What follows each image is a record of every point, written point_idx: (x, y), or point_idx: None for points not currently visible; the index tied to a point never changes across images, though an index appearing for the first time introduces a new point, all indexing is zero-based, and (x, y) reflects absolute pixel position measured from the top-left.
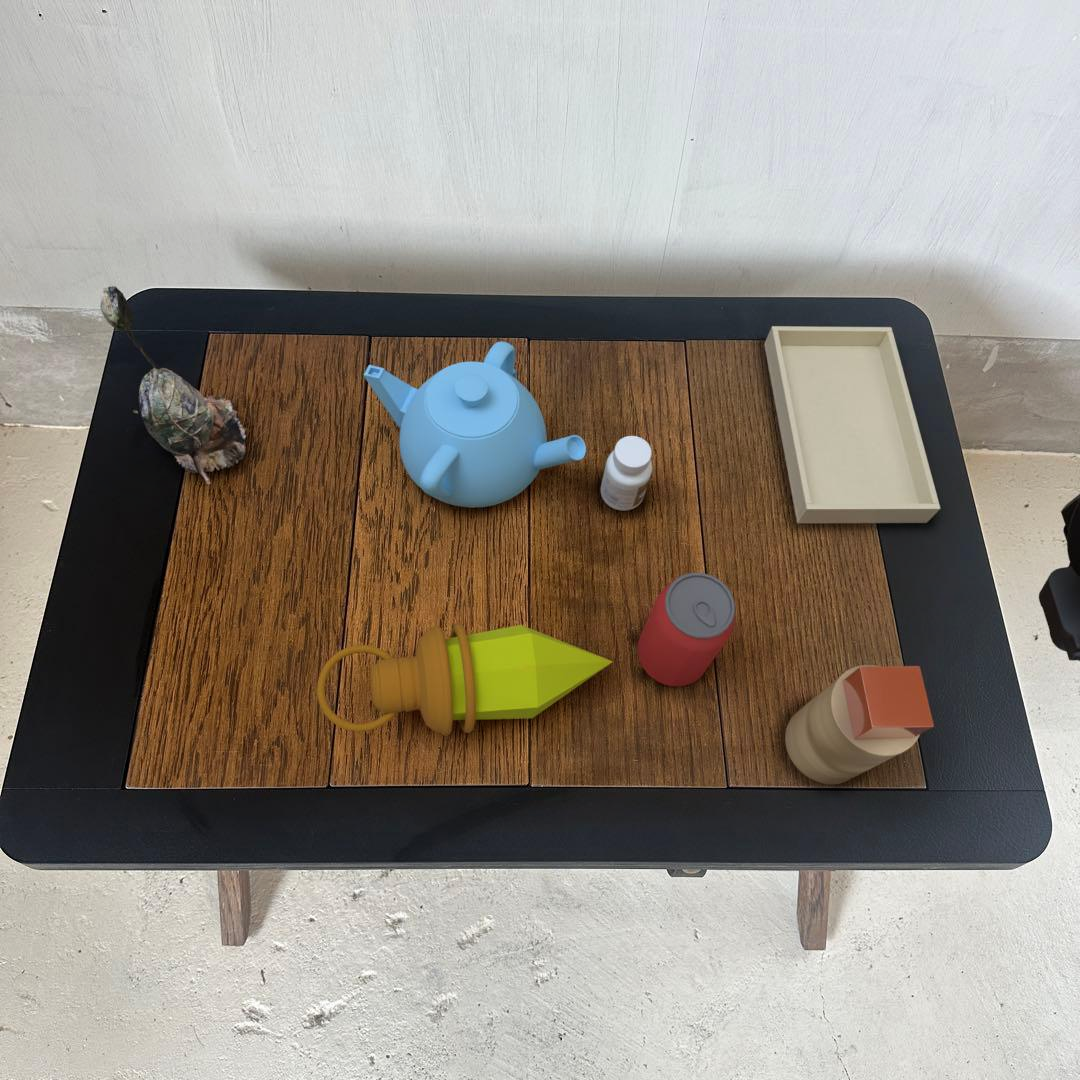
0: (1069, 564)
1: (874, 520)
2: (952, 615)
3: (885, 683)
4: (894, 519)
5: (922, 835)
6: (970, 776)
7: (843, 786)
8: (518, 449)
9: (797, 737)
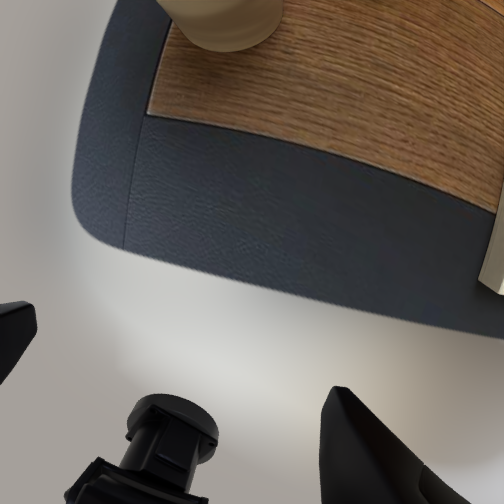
0: (452, 490)
1: (502, 210)
2: (365, 255)
3: None
4: (497, 236)
5: (102, 94)
6: (147, 176)
7: None
8: None
9: None
